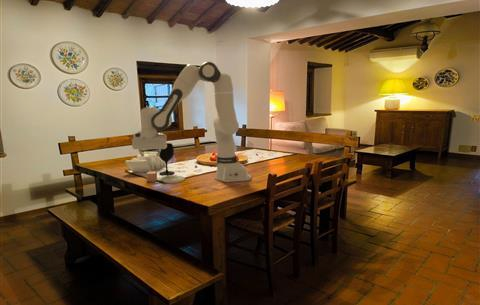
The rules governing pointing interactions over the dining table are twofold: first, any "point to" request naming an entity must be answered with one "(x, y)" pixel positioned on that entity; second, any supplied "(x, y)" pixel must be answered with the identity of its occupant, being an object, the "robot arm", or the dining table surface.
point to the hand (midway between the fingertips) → (150, 156)
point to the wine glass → (167, 157)
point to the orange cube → (151, 176)
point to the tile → (173, 179)
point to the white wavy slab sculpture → (145, 162)
